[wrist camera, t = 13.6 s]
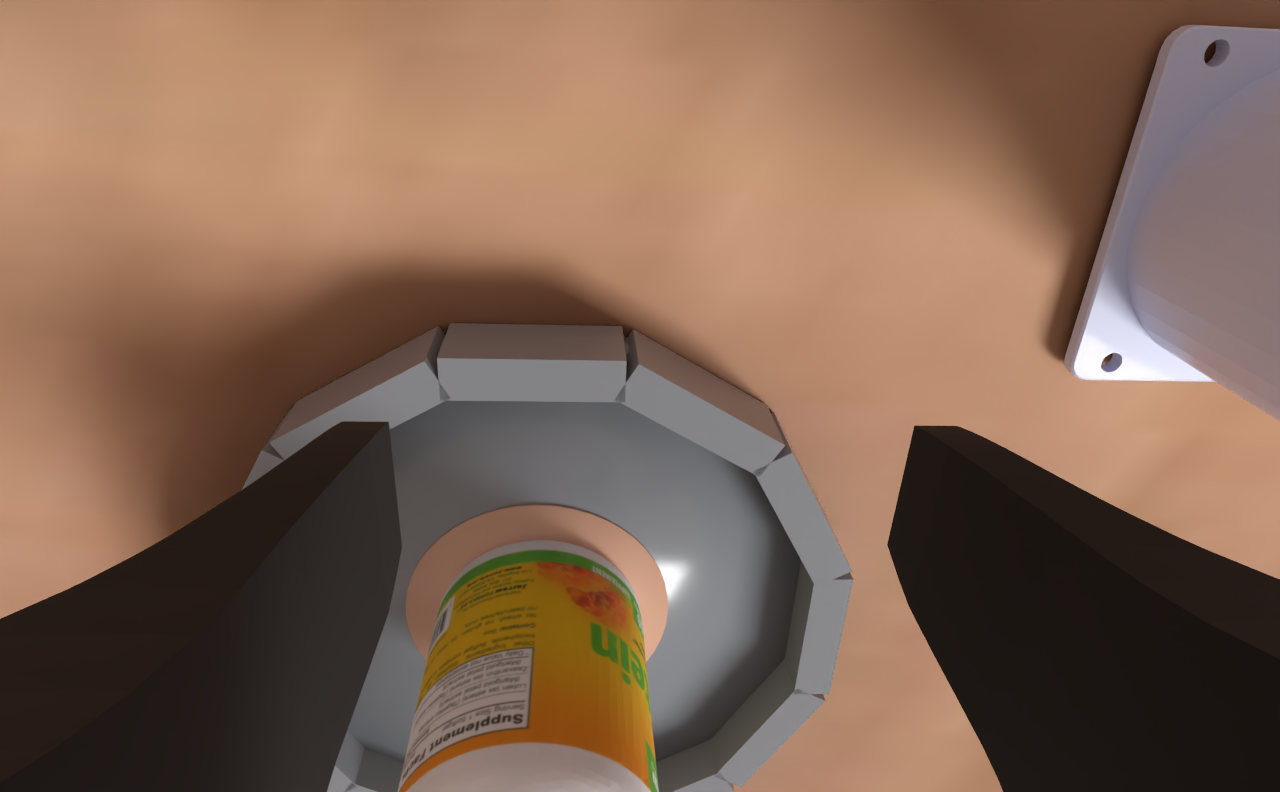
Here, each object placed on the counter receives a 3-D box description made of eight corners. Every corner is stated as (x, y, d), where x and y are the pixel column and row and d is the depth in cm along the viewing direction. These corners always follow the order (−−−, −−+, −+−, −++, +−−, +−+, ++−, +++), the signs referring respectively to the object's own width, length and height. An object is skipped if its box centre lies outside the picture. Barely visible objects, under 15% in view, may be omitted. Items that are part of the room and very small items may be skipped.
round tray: (869, 330, 20) (898, 364, 18) (784, 778, 27) (799, 834, 25) (180, 318, 18) (138, 353, 16) (287, 792, 25) (265, 853, 24)
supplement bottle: (671, 646, 23) (730, 1056, 14) (499, 711, 23) (453, 1140, 15) (589, 502, 20) (598, 888, 12) (400, 579, 21) (275, 998, 12)
